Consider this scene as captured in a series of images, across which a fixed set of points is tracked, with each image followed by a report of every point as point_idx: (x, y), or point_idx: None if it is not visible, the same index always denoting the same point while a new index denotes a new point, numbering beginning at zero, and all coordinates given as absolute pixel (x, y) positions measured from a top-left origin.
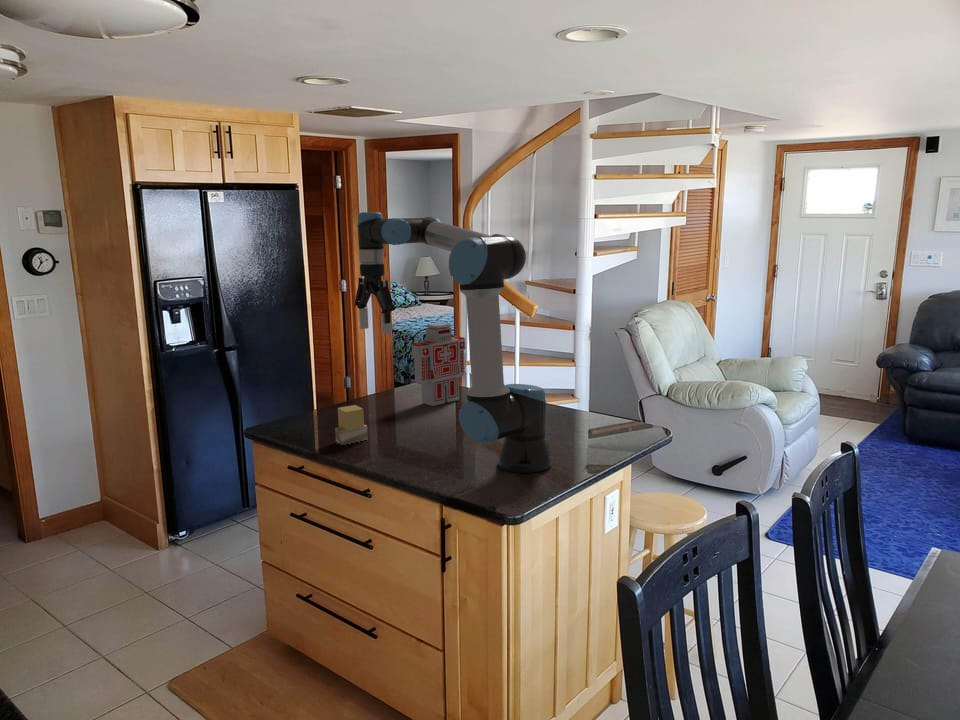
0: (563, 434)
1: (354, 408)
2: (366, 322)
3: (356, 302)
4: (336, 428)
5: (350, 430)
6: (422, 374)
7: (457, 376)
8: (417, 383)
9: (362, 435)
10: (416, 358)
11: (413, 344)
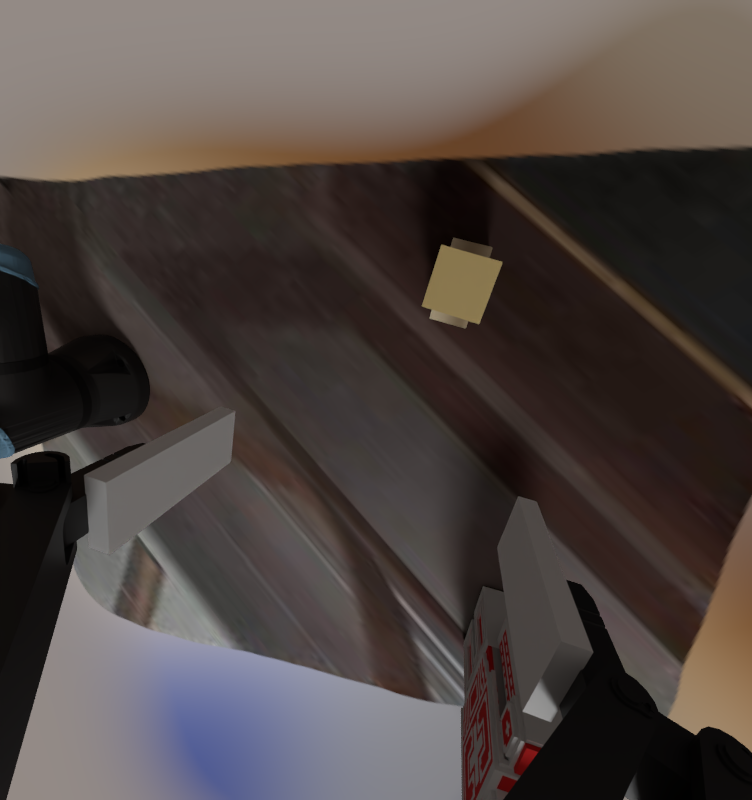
0: (172, 534)
1: (449, 292)
2: (507, 568)
3: (717, 783)
4: (485, 246)
5: None
6: (507, 645)
7: (465, 698)
8: None
9: None
10: None
11: None
